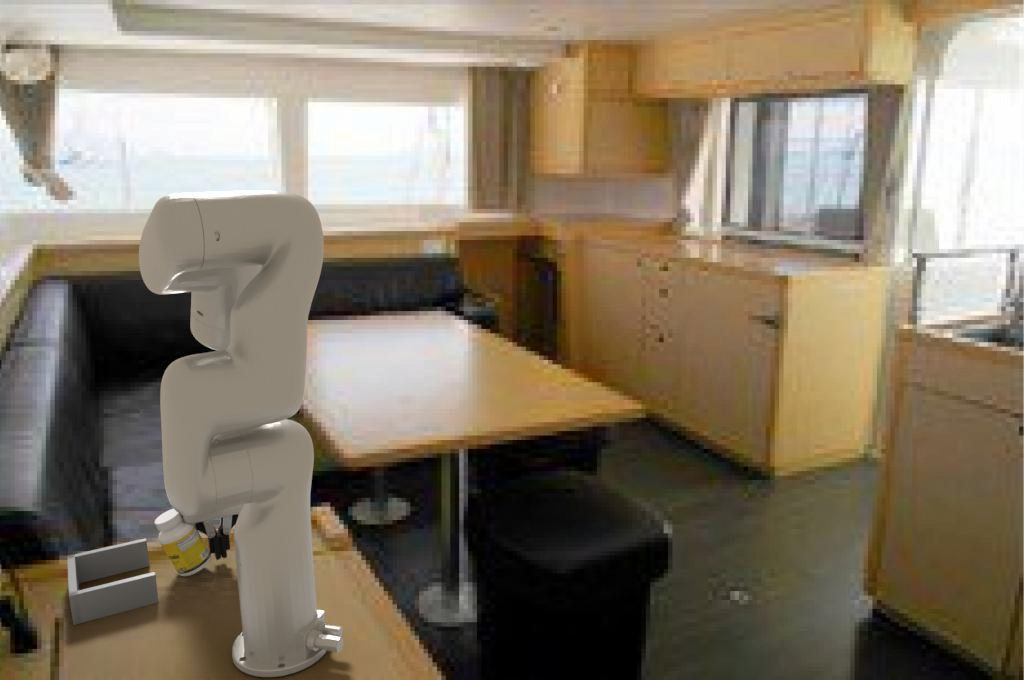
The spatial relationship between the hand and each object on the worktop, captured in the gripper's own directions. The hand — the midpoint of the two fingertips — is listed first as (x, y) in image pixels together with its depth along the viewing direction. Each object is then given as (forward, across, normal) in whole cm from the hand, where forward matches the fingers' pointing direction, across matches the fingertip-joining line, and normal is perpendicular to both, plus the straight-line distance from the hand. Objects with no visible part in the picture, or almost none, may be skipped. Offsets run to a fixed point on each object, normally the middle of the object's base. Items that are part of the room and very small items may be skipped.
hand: (220, 554), depth 123 cm
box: (+2, +16, +1) cm, 16 cm away
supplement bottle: (+1, +4, +1) cm, 4 cm away
